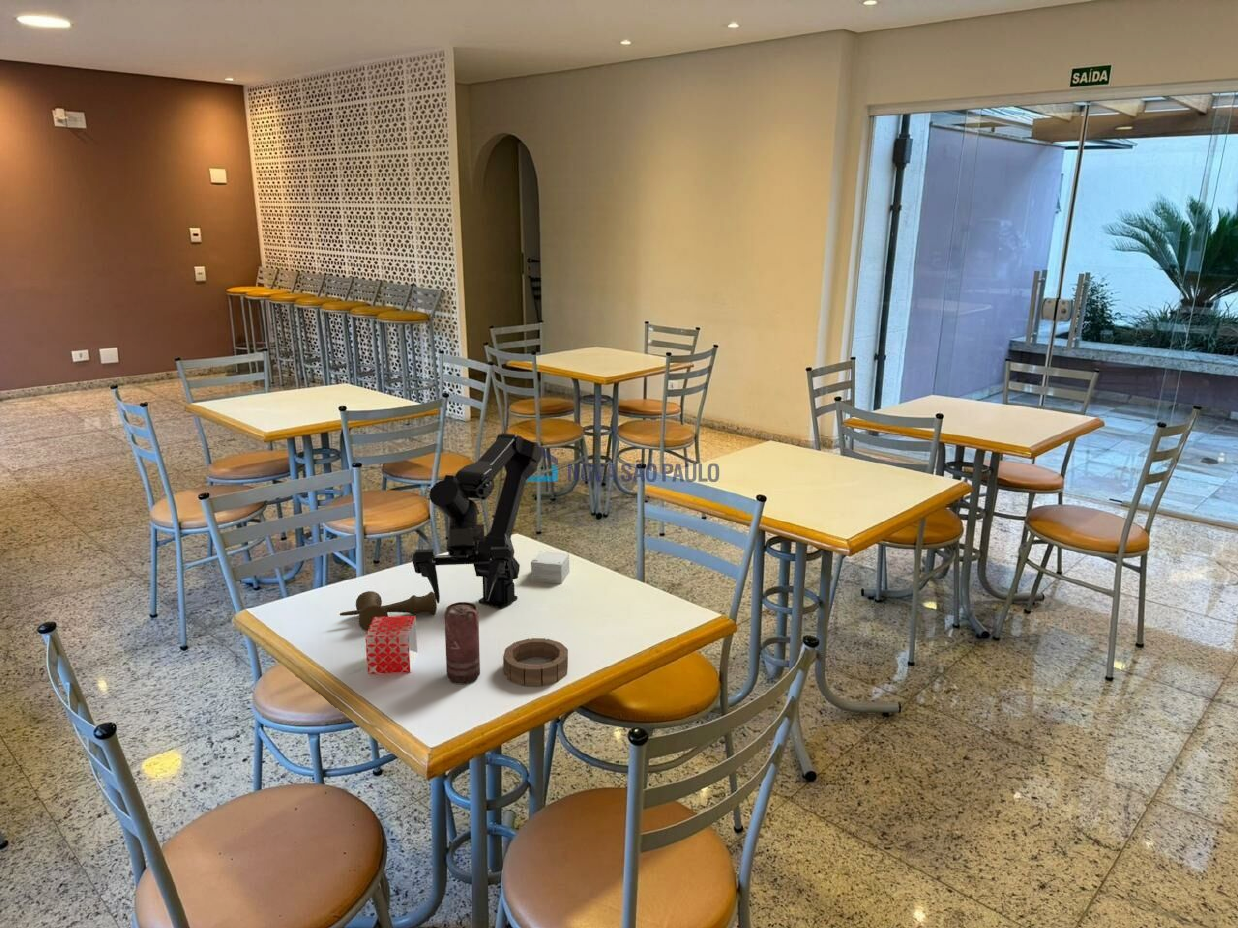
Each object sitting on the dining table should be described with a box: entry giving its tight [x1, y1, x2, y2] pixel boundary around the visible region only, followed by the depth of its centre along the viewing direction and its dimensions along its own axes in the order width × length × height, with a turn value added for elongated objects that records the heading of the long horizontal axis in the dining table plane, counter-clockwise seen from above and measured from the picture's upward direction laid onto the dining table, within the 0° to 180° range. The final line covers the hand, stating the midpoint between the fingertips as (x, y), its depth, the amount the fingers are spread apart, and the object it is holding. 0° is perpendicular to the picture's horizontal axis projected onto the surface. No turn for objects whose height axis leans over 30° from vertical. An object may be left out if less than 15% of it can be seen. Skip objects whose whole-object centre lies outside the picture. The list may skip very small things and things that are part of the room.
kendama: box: [339, 590, 438, 632], centre depth 174 cm, size 6×10×20 cm
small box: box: [530, 550, 570, 585], centre depth 198 cm, size 8×8×5 cm
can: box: [443, 601, 481, 685], centre depth 151 cm, size 6×6×14 cm
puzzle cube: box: [364, 615, 418, 675], centre depth 156 cm, size 8×8×8 cm
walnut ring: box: [502, 637, 569, 687], centre depth 155 cm, size 12×12×4 cm
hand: (462, 601), depth 155 cm, fingers open, 9 cm apart
